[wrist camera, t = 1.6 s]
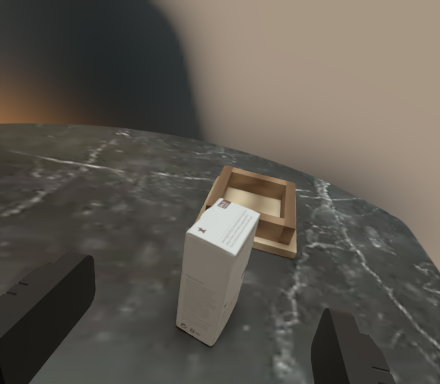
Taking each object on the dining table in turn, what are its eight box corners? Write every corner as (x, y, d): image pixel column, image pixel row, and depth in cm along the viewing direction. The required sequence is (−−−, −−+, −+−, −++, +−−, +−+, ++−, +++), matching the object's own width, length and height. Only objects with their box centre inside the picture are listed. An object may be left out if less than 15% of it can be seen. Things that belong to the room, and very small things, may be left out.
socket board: (193, 231, 38) (196, 207, 36) (216, 182, 50) (220, 161, 47) (293, 259, 37) (303, 236, 34) (293, 202, 48) (301, 181, 46)
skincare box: (213, 349, 25) (239, 259, 19) (172, 325, 27) (183, 233, 20) (238, 299, 30) (266, 213, 24) (202, 281, 32) (219, 194, 25)
